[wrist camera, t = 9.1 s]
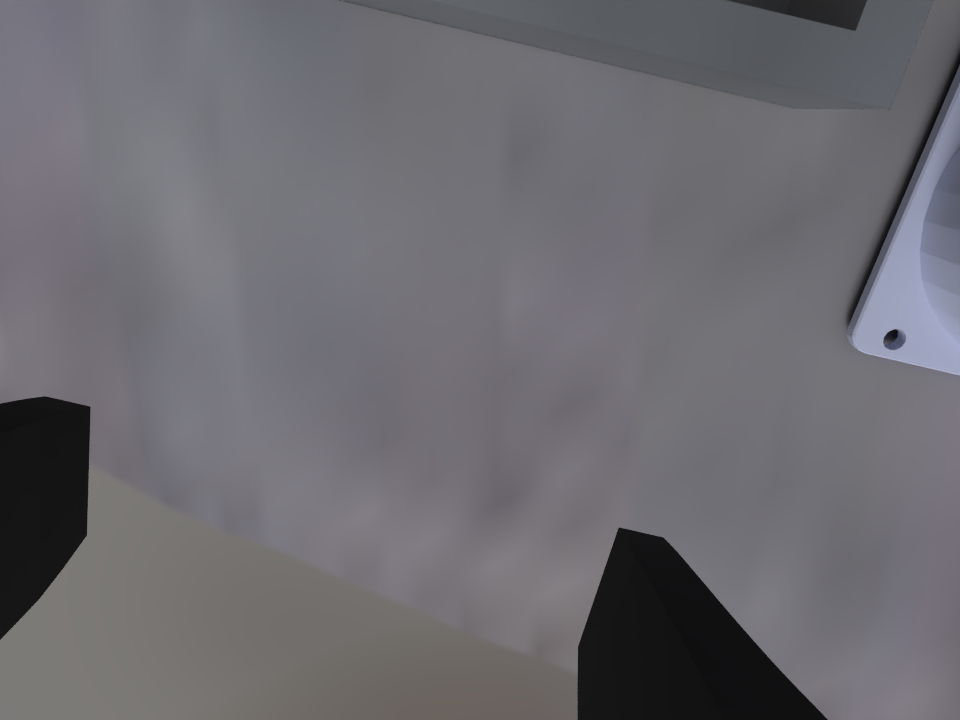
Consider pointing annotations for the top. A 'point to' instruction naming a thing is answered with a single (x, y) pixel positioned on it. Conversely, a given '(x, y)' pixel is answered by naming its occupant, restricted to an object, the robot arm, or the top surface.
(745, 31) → the box
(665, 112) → the top surface
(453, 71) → the top surface
